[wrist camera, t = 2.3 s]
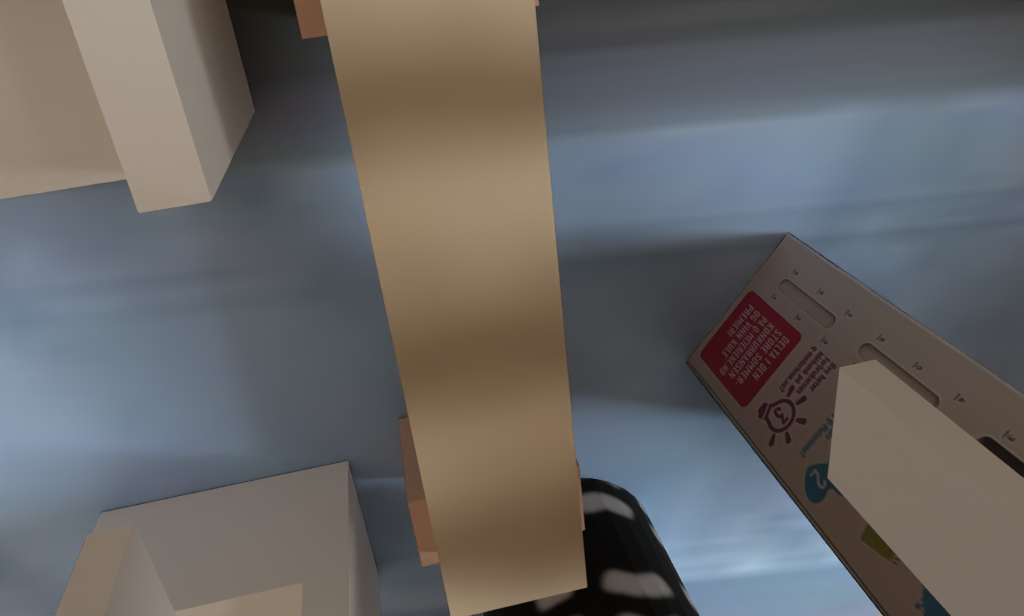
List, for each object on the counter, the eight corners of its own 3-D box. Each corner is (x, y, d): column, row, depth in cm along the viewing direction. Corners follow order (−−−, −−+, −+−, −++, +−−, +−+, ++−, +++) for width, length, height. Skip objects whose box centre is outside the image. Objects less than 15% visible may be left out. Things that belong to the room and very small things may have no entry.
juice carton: (792, 422, 34) (1370, 1060, 15) (685, 362, 32) (1218, 1044, 12) (893, 305, 32) (1698, 860, 13) (788, 232, 30) (1602, 792, 11)
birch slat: (309, -78, 18) (303, -79, 15) (498, -102, 18) (524, -107, 16) (440, 552, 27) (451, 620, 24) (563, 524, 28) (587, 587, 25)
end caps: (-183, -83, 20) (-530, -89, 12) (192, -125, 21) (101, -156, 13) (155, 628, 32) (94, 855, 24) (378, 577, 34) (389, 777, 26)
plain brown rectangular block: (285, -94, 22) (271, -98, 17) (491, -119, 23) (527, -129, 18) (411, 478, 32) (422, 567, 27) (552, 447, 32) (584, 529, 28)
